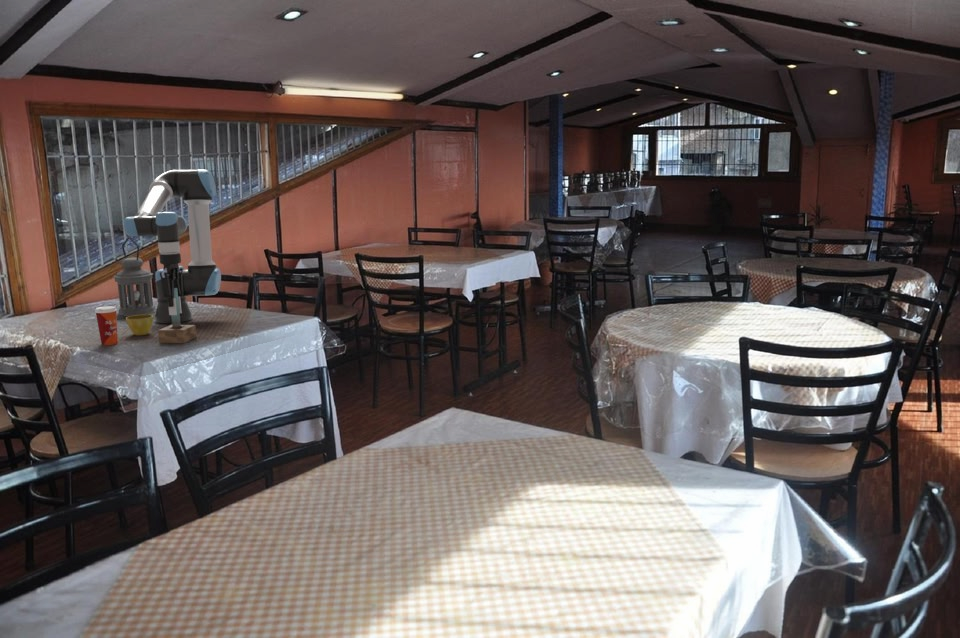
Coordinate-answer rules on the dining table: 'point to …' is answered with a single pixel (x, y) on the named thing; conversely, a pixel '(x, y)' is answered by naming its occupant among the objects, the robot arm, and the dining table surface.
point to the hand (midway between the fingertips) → (175, 313)
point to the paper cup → (107, 324)
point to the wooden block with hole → (177, 334)
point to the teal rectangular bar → (176, 318)
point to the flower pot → (140, 324)
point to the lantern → (128, 279)
